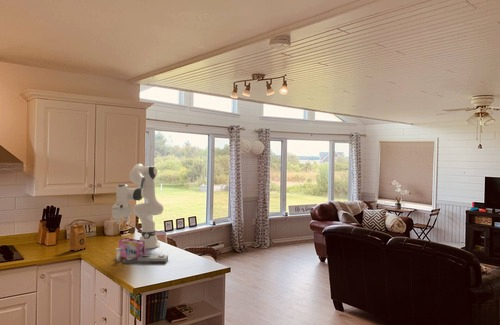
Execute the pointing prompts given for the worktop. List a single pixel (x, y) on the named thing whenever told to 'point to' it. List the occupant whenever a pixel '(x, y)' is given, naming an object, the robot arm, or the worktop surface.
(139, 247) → the gum box
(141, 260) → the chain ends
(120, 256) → the pin
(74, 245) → the coffee package
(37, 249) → the worktop surface
